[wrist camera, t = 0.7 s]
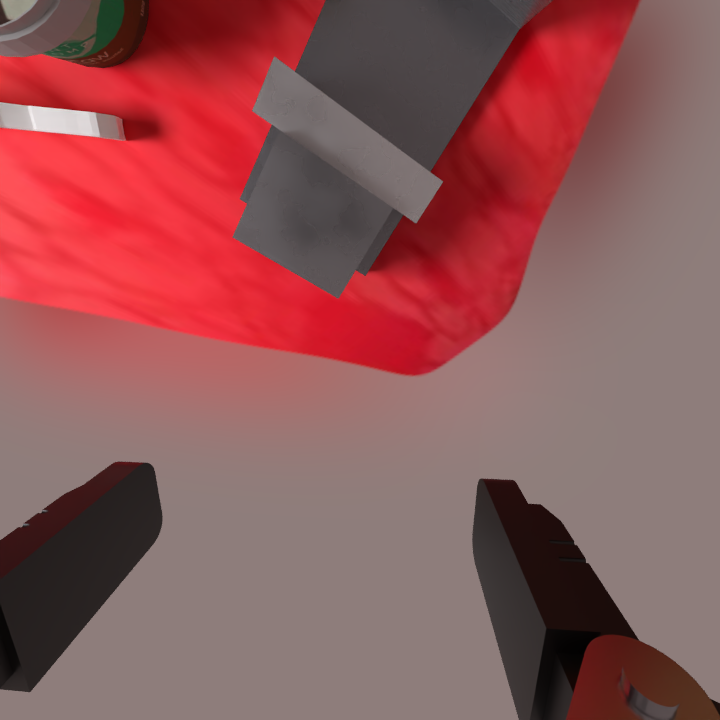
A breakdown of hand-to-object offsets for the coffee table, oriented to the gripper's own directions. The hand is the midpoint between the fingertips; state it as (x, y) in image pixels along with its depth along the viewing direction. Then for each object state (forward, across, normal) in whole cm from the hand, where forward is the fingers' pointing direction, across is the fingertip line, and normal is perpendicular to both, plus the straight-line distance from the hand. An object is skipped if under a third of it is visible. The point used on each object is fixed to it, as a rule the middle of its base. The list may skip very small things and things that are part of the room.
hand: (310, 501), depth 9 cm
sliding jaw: (+24, +3, -11) cm, 26 cm away
